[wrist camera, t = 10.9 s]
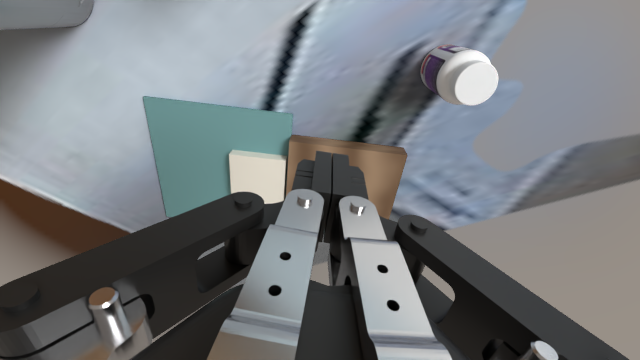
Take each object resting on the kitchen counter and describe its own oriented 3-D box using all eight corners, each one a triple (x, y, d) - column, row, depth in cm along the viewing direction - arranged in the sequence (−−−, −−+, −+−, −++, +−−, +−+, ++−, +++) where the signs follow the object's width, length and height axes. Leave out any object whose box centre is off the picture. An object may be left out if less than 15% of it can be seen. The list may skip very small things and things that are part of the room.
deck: (286, 213, 48) (284, 223, 45) (291, 134, 40) (289, 141, 38) (382, 224, 48) (384, 234, 46) (403, 147, 41) (407, 155, 39)
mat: (167, 214, 49) (166, 216, 48) (144, 96, 38) (142, 96, 38) (285, 227, 49) (285, 229, 49) (292, 113, 39) (292, 114, 39)
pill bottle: (434, 99, 37) (464, 123, 29) (411, 66, 35) (435, 83, 27) (473, 69, 35) (517, 86, 27) (450, 33, 34) (489, 39, 25)
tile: (234, 195, 46) (231, 201, 44) (232, 149, 42) (228, 154, 40) (284, 201, 46) (283, 206, 44) (287, 155, 42) (285, 160, 40)
